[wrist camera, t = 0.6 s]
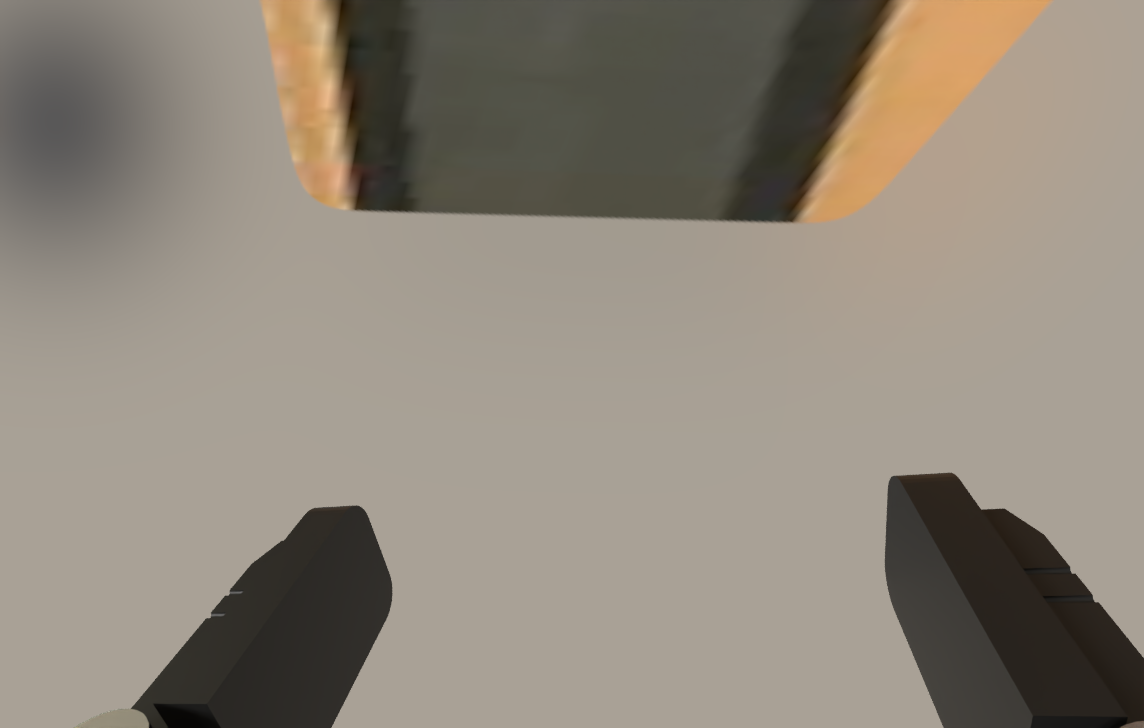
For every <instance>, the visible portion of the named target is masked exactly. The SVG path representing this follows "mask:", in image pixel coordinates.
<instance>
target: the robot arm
mask: <svg viewBox="0 0 1144 728" xmlns="http://www.w3.org/2000/svg"><path fill="white" fill-rule="evenodd" d="M885 572H886V580H887V586H888V590H889V595H890V598H891V602H892V605H893V608H894V610H895V613H896V615H897V618H898V620H899V622H900V625H901V627H902V629H903V632H904V634H905V636H906V639H907V641H908V644H909V646H910V648H911V651H912V653H913V656H914V658H915V660H916V663H917V665H918V668H919V670H920V672H921V675H922V677H923V679H924V682H925V684H926V687H927V689H928V691H929V694H930V696H931V699H932V701H933V703H934V706H935V708H936V710H937V713H938V715H939V718H940V720H941V722H942V725H943V727H944V728H1144V658H1143V657H1142V656H1141V654H1140V653H1139V652H1138V651H1137V649H1136V648H1135V647H1134V646H1133V645H1132V643H1131V642H1130V641H1129V639H1128V638H1127V637H1126V636H1125V635H1124V633H1123V632H1122V631H1121V630H1120V628H1119V627H1118V626H1117V625H1116V623H1115V622H1114V621H1113V620H1112V618H1111V617H1110V616H1109V615H1108V614H1107V612H1106V611H1105V610H1104V609H1103V607H1102V606H1101V605H1100V604H1099V603H1098V602H1097V603H1095V602H1094V600H1093V595H1092V594H1091V592H1090V591H1089V590H1088V589H1087V587H1086V586H1085V585H1084V584H1083V583H1082V581H1081V580H1080V579H1079V578H1078V576H1077V575H1076V574H1072V573H1071V571H1070V566H1069V565H1068V564H1067V563H1066V561H1065V560H1064V559H1063V558H1062V556H1061V555H1060V554H1059V553H1058V551H1057V550H1056V549H1055V548H1054V546H1053V545H1052V544H1051V543H1050V542H1049V540H1048V539H1047V538H1046V537H1045V535H1044V534H1042V533H1040V532H1039V531H1038V530H1036V529H1035V528H1033V527H1031V526H1030V525H1028V524H1027V523H1026V522H1024V521H1022V520H1021V519H1019V518H1018V517H1016V516H1015V515H1013V514H1012V513H1010V512H1009V511H1007V510H1006V509H987V510H981V509H980V507H979V506H978V505H977V503H976V502H975V500H974V499H973V498H972V496H971V495H970V493H969V492H968V491H967V489H966V488H965V487H964V485H963V484H962V482H961V481H960V479H959V478H958V477H957V476H956V475H955V474H953V473H938V474H920V475H905V476H893V477H891V479H890V481H889V485H888V500H887V522H886V546H885ZM391 602H392V582H391V577H390V574H389V571H388V569H387V566H386V563H385V561H384V558H383V555H382V553H381V550H380V547H379V544H378V542H377V539H376V536H375V534H374V531H373V528H372V526H371V523H370V521H369V518H368V515H367V513H366V512H365V510H364V509H363V508H361V507H360V506H340V507H323V508H314V509H311V510H309V511H308V512H307V513H306V514H305V515H304V516H303V518H302V519H301V520H300V522H299V523H298V524H297V525H296V526H295V528H294V529H293V530H292V531H291V533H290V534H289V535H288V536H287V538H286V539H285V540H284V541H281V542H280V543H278V544H277V545H276V546H274V547H273V548H272V549H271V550H269V551H268V552H267V553H265V554H264V555H263V556H261V557H260V558H259V559H258V560H256V561H255V562H254V563H252V564H251V566H250V567H249V568H248V569H247V570H246V571H245V573H244V574H243V575H242V576H241V577H240V579H239V580H238V581H237V582H236V584H235V585H234V586H233V587H232V588H231V590H230V594H229V596H225V597H224V598H223V599H222V600H221V602H220V603H219V604H218V605H217V606H216V607H215V609H214V610H213V611H212V612H211V618H207V619H205V621H204V622H203V623H202V624H201V625H200V627H199V628H198V629H197V630H196V631H195V633H194V634H193V635H192V636H191V637H190V639H189V640H188V641H187V642H186V643H185V645H184V646H183V647H182V648H181V649H180V651H179V652H178V653H177V654H176V655H175V657H174V658H173V659H172V660H171V661H170V663H169V664H168V665H167V666H166V667H165V669H164V670H163V671H162V672H161V673H160V675H159V676H158V677H157V678H156V679H155V681H154V682H153V683H152V684H151V685H150V687H149V688H148V689H147V690H146V691H145V693H144V694H143V695H142V696H141V698H140V699H139V700H138V701H137V702H136V703H135V705H134V706H133V707H132V708H131V709H118V710H113V711H110V712H107V713H103V714H100V715H98V716H95V717H93V718H91V719H89V720H87V721H85V722H83V723H81V724H79V725H77V726H76V727H74V728H331V727H332V725H333V723H334V721H335V719H336V717H337V715H338V713H339V711H340V709H341V707H342V706H343V704H344V702H345V700H346V698H347V696H348V694H349V691H350V690H351V688H352V686H353V684H354V682H355V680H356V678H357V676H358V674H359V672H360V670H361V668H362V666H363V664H364V662H365V660H366V658H367V656H368V654H369V652H370V650H371V648H372V646H373V644H374V642H375V640H376V638H377V636H378V634H379V632H380V631H381V629H382V627H383V624H384V622H385V621H386V618H387V616H388V614H389V611H390V607H391Z"/></svg>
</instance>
